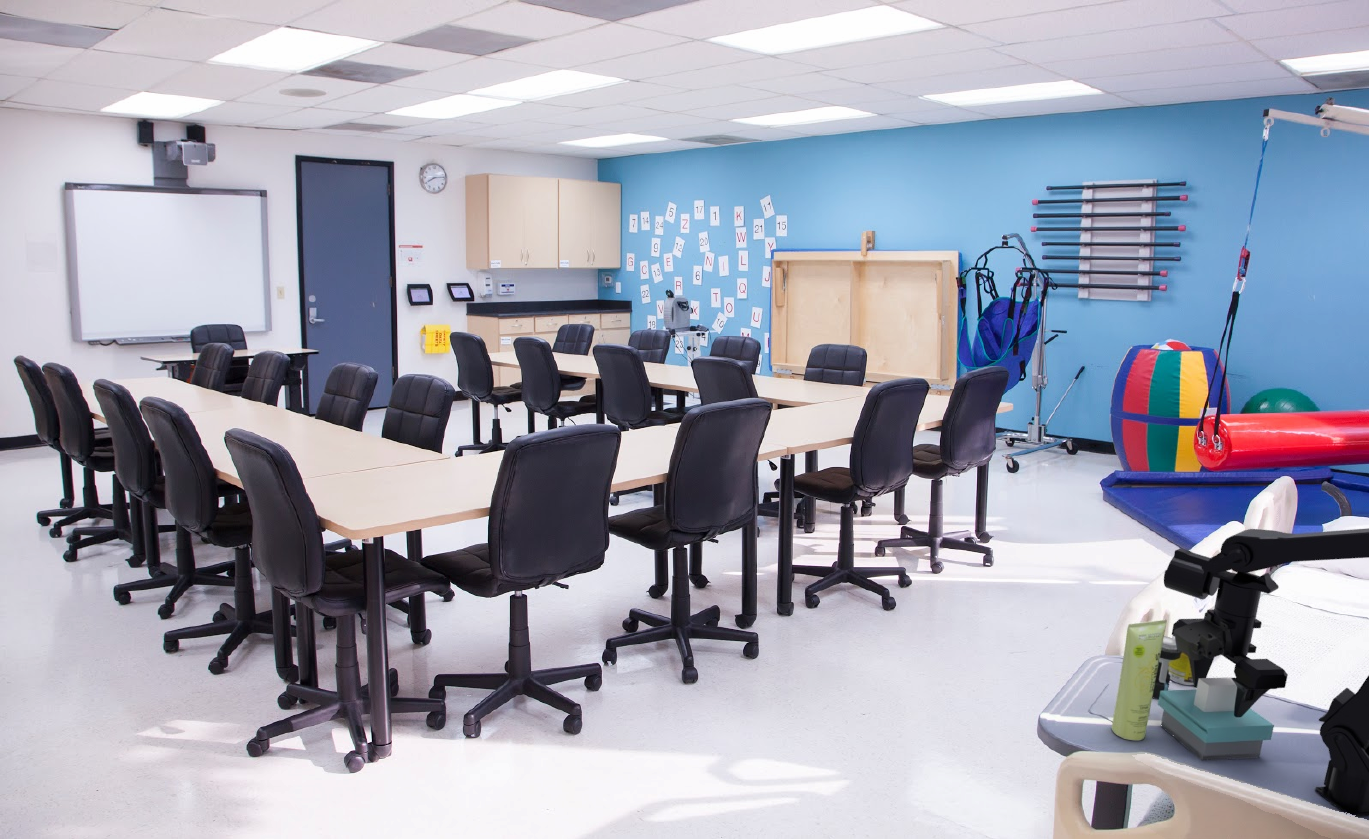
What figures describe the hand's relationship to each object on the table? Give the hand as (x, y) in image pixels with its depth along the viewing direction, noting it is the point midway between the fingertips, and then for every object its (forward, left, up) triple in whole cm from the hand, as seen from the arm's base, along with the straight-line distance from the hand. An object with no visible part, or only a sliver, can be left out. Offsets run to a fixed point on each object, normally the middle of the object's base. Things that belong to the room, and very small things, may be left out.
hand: (1216, 701), depth 155 cm
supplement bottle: (+20, -10, -7) cm, 23 cm away
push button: (+16, -2, -7) cm, 18 cm away
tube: (+3, +12, -7) cm, 15 cm away
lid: (0, 0, -4) cm, 4 cm away
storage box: (0, 0, -7) cm, 7 cm away
